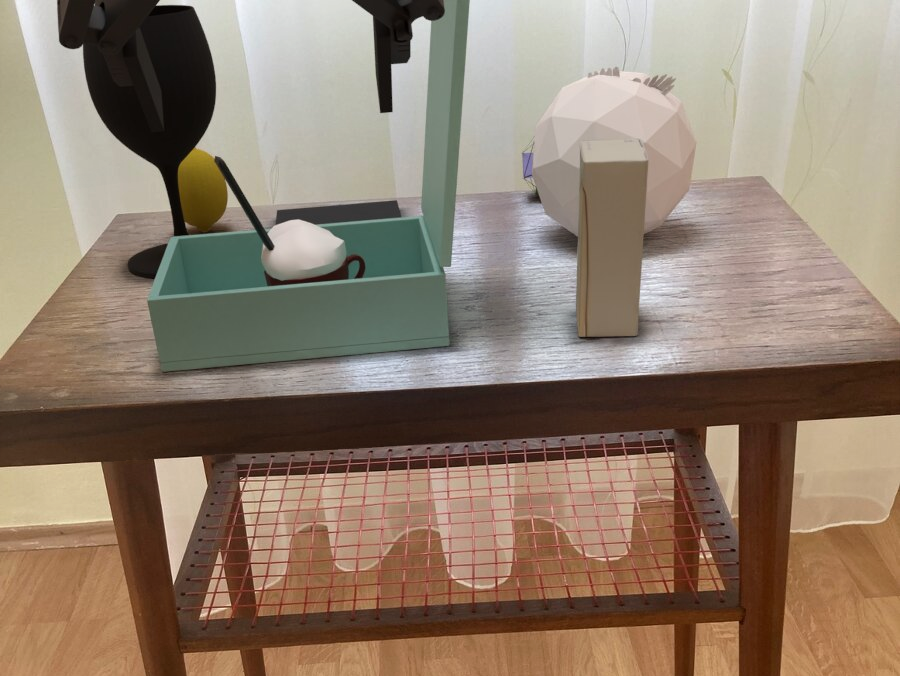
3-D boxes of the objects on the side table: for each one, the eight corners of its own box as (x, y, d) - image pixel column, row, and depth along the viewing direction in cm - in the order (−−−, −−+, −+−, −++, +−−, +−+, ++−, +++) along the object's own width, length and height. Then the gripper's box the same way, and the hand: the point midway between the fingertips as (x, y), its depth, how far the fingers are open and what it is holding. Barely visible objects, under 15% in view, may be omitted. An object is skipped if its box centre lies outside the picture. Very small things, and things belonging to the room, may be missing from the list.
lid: (463, -99, 64) (537, -93, 64) (437, -105, 77) (500, -100, 77) (439, 267, 75) (502, 269, 76) (420, 209, 88) (475, 211, 89)
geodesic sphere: (744, 148, 98) (652, 7, 94) (737, 189, 87) (632, 31, 83) (607, 248, 106) (517, 122, 102) (585, 298, 95) (482, 158, 90)
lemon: (194, 223, 110) (178, 138, 106) (243, 225, 108) (230, 139, 104) (165, 239, 106) (148, 151, 101) (216, 241, 104) (201, 152, 100)
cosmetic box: (575, 309, 84) (577, 139, 77) (634, 307, 83) (641, 136, 76) (578, 339, 78) (580, 160, 72) (641, 337, 78) (649, 157, 71)
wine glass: (107, 263, 100) (50, 16, 89) (205, 237, 106) (164, 1, 94) (163, 287, 93) (110, 23, 82) (266, 257, 99) (229, 6, 88)
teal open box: (162, 372, 78) (146, 299, 75) (183, 300, 90) (170, 236, 87) (449, 346, 79) (445, 273, 76) (430, 279, 91) (426, 215, 89)
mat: (274, 253, 100) (273, 244, 100) (278, 218, 110) (276, 209, 110) (406, 241, 101) (405, 233, 100) (397, 208, 111) (397, 199, 110)
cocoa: (369, 295, 87) (353, 133, 80) (366, 323, 81) (349, 152, 75) (249, 303, 87) (223, 141, 80) (238, 331, 82) (209, 161, 75)
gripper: (495, -323, 46) (470, 30, 67) (-108, -287, 45) (56, 63, 66) (518, -174, 45) (485, 140, 66) (-104, -132, 44) (62, 176, 64)
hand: (270, 102), depth 66 cm, fingers open, 13 cm apart
